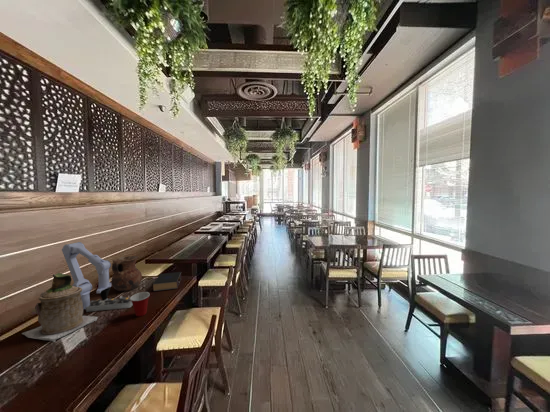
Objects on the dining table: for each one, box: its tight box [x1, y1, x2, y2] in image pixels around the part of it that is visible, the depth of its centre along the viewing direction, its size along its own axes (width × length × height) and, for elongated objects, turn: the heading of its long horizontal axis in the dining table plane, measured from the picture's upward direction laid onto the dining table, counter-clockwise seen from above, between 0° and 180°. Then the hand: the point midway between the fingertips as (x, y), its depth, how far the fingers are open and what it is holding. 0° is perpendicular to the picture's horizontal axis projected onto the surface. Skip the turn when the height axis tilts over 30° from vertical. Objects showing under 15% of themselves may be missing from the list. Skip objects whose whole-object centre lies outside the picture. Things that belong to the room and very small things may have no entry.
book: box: [152, 271, 182, 292], centre depth 200 cm, size 17×25×7 cm
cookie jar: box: [21, 272, 98, 343], centre depth 136 cm, size 25×25×32 cm
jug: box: [110, 255, 143, 292], centre depth 195 cm, size 22×21×25 cm
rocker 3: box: [118, 295, 130, 301], centre depth 161 cm, size 5×3×2 cm, turn 100°
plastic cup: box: [129, 291, 151, 317], centre depth 149 cm, size 11×11×12 cm
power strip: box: [85, 297, 133, 313], centre depth 161 cm, size 26×8×5 cm, turn 100°
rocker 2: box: [105, 297, 116, 303], centre depth 160 cm, size 5×3×2 cm, turn 100°
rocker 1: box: [90, 298, 102, 305], centre depth 158 cm, size 5×3×2 cm, turn 100°
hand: (104, 300), depth 159 cm, fingers closed, pressing on rocker 2
